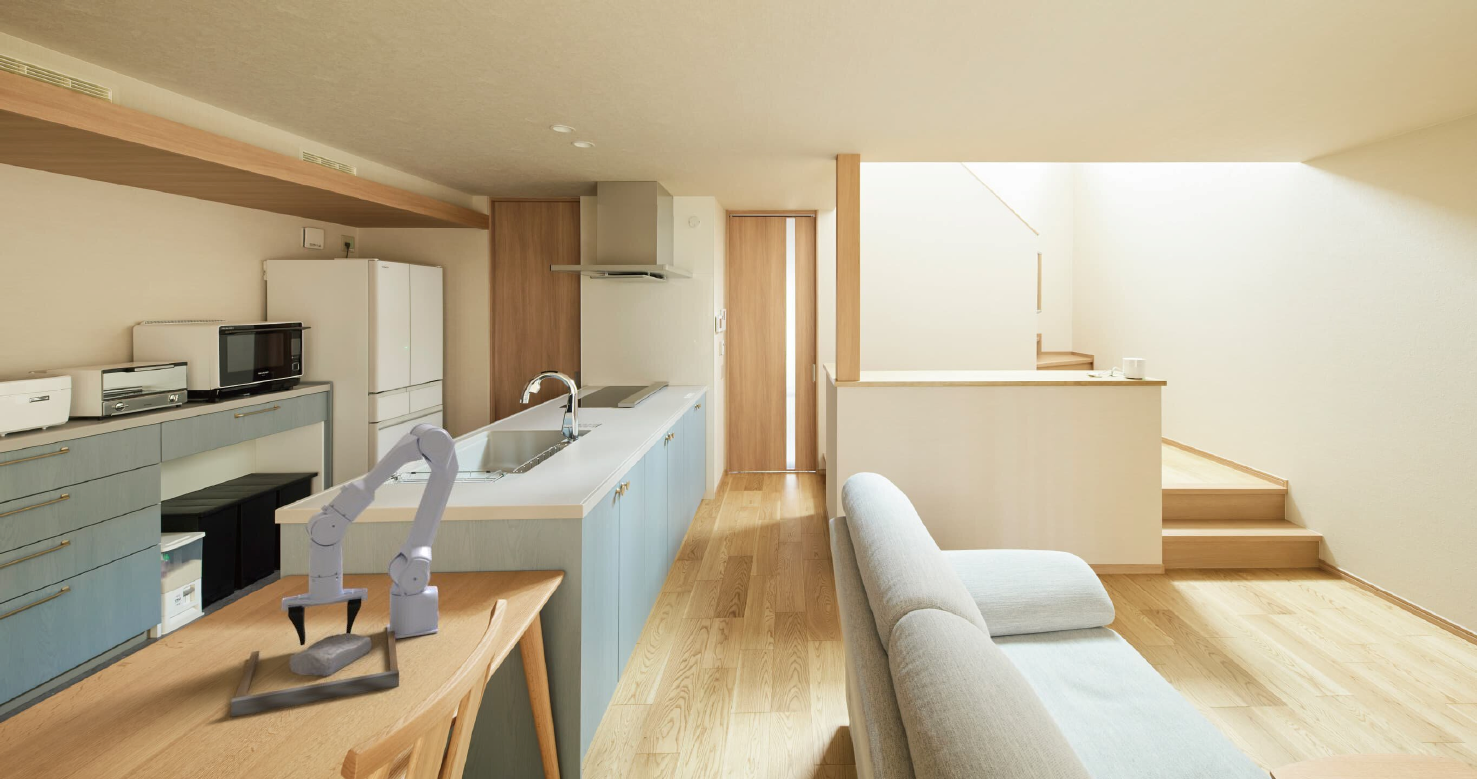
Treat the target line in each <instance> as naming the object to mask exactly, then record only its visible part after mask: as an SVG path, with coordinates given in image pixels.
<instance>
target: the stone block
mask: <svg viewBox="0 0 1477 779" xmlns="http://www.w3.org/2000/svg"><path fill="white" fill-rule="evenodd" d="M371 649H372V641H371V638H370V637H369V636H364V635H360V634H356V633H352V632H351V633H346V632H344V633H341V634H339V633H337V634H334V635H330V636H325V637H324V638H323V639H321V640H317V641H316V642H315V643H313V644H312V645H311V644H310V645H309V646H308V648H306V649H304V650H302V651H300V652H296V653H294V654H292V655H291V656H290V658H289V668H290V671H291V672H292V673H293V674H297V675H300V676H301V675H303V676H304V675H306V676H316V677H320V676H321V677H327V678H328V677H330V676H332V675H334V674H335V673H337V672H339V671H341V670H342V669H343V668H345V667H347V666H349V665H351V664H353V663H354V662H355V661H357V660H359V659H361V658H363V657H364V656H366V655H367V654H368V653H369V652H370V651H371Z"/></svg>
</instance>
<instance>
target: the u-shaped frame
mask: <svg viewBox="0 0 1477 779" xmlns="http://www.w3.org/2000/svg"><path fill="white" fill-rule="evenodd" d="M387 644H388V657H389V658H388V659H389V671H383V672H379V673H378V672H377V673H373V674H366V675H361V676H360V675H359V676H355V677H350V678H349V677H348V678H343V679H337V680H331V681H325V682H321V683H320V682H319V683H314V684H308V685H303V686H298V687H292V688H285V689H280V690H274V691H268V692H263V693H257V694H252V695H248V692H249V689H250V685H251V683H252V680H253V678H254V675H255V671H256V669H257V664H258V662H259V659H260V650H255V651H251V653H250V656H249V658H248V660H247V665H246V667H245V669H244V672H243V674H242V678H241V680H240V683H239V686H238V689H237V692H236V694H235V697H233V698H231V700H230V717H231V718H232V717H238V716H245V715H250V714H254V713H255V714H256V713H260V712H265V711H271V710H277V709H282V708H286V707H287V708H288V707H294V706H298V705H303V704H308V703H309V704H310V703H314V702H315V703H316V702H319V701H320V702H321V701H325V700H330V699H336V698H340V697H341V698H343V697H347V696H353V695H358V694H359V695H360V694H363V693H369V692H374V691H380V690H386V689H391V688H396V687H400V670H399V666H398V664H399V663H398V656H397V647H396V639H395V633H394V631H388V633H387Z"/></svg>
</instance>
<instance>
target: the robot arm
mask: <svg viewBox="0 0 1477 779" xmlns="http://www.w3.org/2000/svg"><path fill="white" fill-rule="evenodd" d="M455 447H456V441H455V440H454V439H453V438H452V436H451V434H450V433H449V432H448V431H447V430H446V429H444V428H442V427H439V426H435V425H433V424H432V423H428V422H422V423H418V424H416V425H415V426H413V427H412V429H410V430H409V432H406V433H405V434H404V435H403V436H401V438H399V440H398V441H397V442H396V444H394V446H392V448H391V449H390V450H389V451H388V452H387V453H386V454H385V455H384V456H383V457H382V459H381V460H380V461H378V462H377V463H376V465H375V466H373V468H372V469H371V470H370V471H369V472H368V473H367V474H366V475H365V476H364V478H362V479H361V480H356V481H350V483H349V484H343V485H342V486H341V487H340V488H339V490H340V492H339V493H338V494H337V495H336V496H335V497H334V498H333V499H332V500H331V501H330V502H329V503H328V504H327V505H326V504H324V505H322V506H321V507H320V511H319V512H315V514H313V515H312V516H311V517H310V519H308V522H307V524H306V526H305V529H306V532H307V534H308V535H309V536H310V538H309V544H308V546H309V551H308V593H303V594H299V595H294V596H288V597H283V598H282V600H281V612H285V611H287V617H288V618H289V621H290V622H291V623H292V625H293V627H294V628H295V631H296V633H297V636H298V639H299V645H300V646H305V644H306V636H307V635H306V627H305V621H306V620H305V618H306V617H305V615H306V614H305V609H306V608H309V607H314V606H315V607H317V606H325V605H330V604H331V605H332V604H339V603H347V604H346V621H347V622H346V631H345V633H351V634H352V628H353V625H354V622H355V620H356V617H357V616H358V614H359V611H360V609H361V608H362V602H366V601H368V588H367V587H366V588H343V586H344V585H343V578H344V576H343V575H344V574H343V573H344V572H343V548H342V544H343V542H342V539H344V537H345V535H346V533H347V527H348V526H350V525H351V524H352V523H353V522H354V521H355V520H357V518H359V516H360V515H361V514H362V513H363V512H364V511H365V510H366V509H367V508H368V507H369V506H370V505H371V504H372V503H373V502H374V501H375V499H376V490H378V489H379V488H381V486H382V485H383V484H384V483H385V482H387V481H388V480H389V479H390V478H391V477H392V476H393V475H394V474H395V473H396V472H397V471H399V470H400V469H401V468H402V467H403V466H404V465H405V464H407V463H410V462H417V461H422V460H423V459H424V460H425V461H426V462H425V463H427V465H428V467H429V469H430V470H431V471H430V474H429V475H428V476H429V477H428V479H427V481H426V484H425V488H424V491H423V493H422V497H421V499H420V502H419V505H418V508H417V510H416V512H415V514H414V515H415V516H414V518H413V520H412V524H411V527H410V530H409V532H408V536H407V538H406V540H405V541H404V542H403V544H402V545H401V546H399V550H398V552H397V554H396V555H395V556H394V557H393V558H392V559H391V561H390V562H389V564H388V567H387V573H388V576H389V577H390V579H392V581H393V582H392V584H391V586H390V588H389V623H387V624H386V631H387V634H388V631H394V633H395V640H396V639H402V638H409V637H417V636H422V635H428V634H436V633H438V632H439V620H440V612H439V592H438V590H439V589H438V587H437V585H433V586H432V585H429V583H430V581H431V571H430V570H431V568H430V567H431V564H432V559H433V557H432V545H433V544H434V541H435V537H436V536H437V531H438V530H439V526H440V523H441V522H442V521H441V520H442V518H443V515H444V512H445V510H446V507H447V504H448V501H449V499H450V496H451V492H452V490H453V487H454V484H455V481H456V478H457V476H458V473H459V468H460V467H459V466H460V465H459V461H458V458H457V452H456V448H455Z"/></svg>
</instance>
